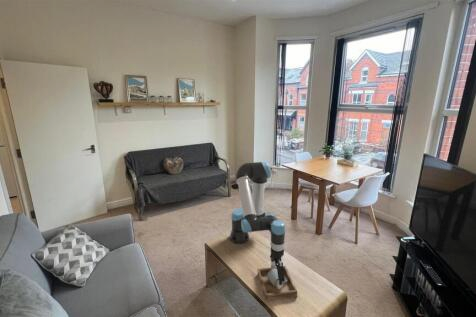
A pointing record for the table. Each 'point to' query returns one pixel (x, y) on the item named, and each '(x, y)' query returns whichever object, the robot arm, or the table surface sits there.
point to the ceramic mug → (274, 277)
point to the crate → (275, 293)
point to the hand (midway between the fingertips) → (276, 278)
